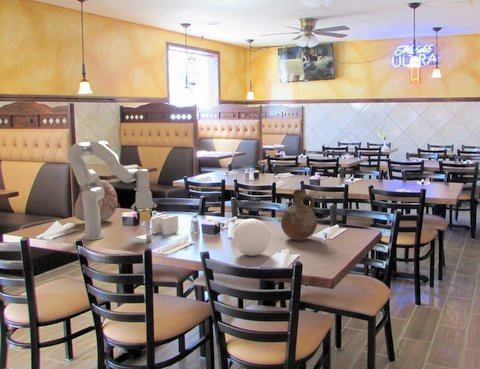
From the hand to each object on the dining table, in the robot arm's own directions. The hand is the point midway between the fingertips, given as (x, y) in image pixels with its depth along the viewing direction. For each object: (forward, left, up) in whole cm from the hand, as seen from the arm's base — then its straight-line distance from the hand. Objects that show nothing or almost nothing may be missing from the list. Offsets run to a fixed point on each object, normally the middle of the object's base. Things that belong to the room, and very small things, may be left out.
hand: (144, 218), depth 314 cm
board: (+5, -3, -13) cm, 14 cm away
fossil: (-65, +13, -13) cm, 68 cm away
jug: (+78, +53, -13) cm, 95 cm away
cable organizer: (0, +17, -13) cm, 22 cm away
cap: (0, 0, -1) cm, 1 cm away
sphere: (+75, +9, -13) cm, 77 cm away
